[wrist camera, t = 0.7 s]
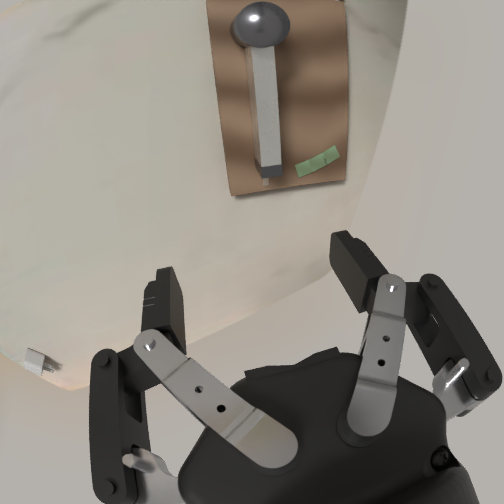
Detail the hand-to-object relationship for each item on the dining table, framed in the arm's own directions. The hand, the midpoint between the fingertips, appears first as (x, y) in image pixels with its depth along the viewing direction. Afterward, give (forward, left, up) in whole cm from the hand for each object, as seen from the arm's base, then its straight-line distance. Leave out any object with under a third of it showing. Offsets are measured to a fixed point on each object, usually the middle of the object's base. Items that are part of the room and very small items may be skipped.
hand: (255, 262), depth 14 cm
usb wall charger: (+32, -45, -20) cm, 59 cm away
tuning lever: (-6, +5, -18) cm, 20 cm away
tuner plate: (-6, +8, -19) cm, 22 cm away
